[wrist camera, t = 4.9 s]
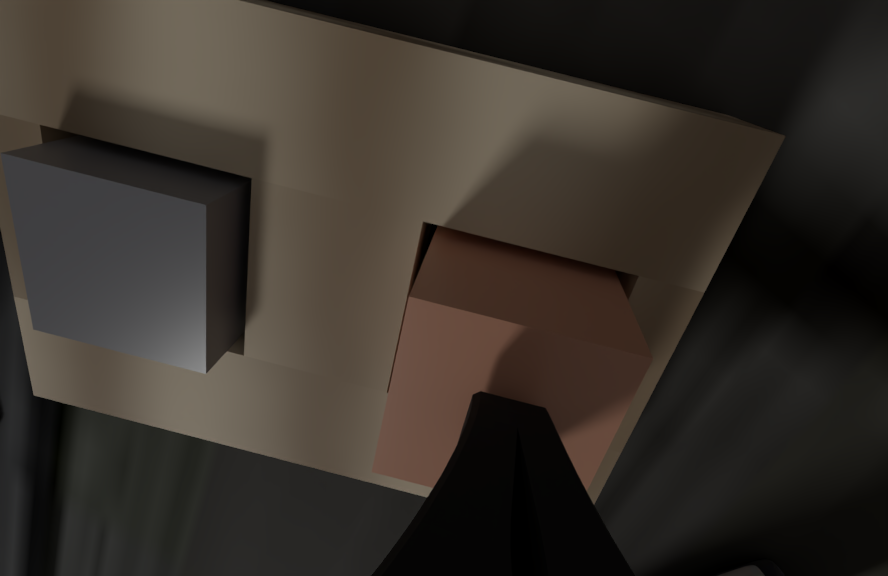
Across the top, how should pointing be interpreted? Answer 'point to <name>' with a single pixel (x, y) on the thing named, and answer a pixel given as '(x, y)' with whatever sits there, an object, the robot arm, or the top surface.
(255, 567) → the top surface
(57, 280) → the gray cube
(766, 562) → the grey and red box
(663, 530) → the top surface
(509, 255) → the brown cube
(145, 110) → the tan flat rectangular block
